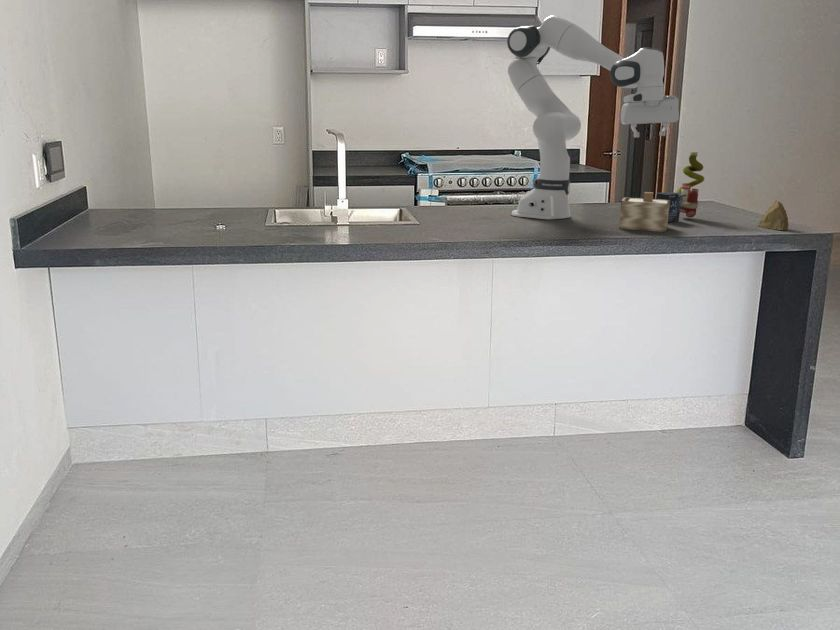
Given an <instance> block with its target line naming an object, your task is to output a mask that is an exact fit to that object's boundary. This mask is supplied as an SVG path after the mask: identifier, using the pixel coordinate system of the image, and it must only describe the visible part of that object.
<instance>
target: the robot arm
mask: <svg viewBox="0 0 840 630" xmlns="http://www.w3.org/2000/svg"><path fill="white" fill-rule="evenodd" d="M506 43H507V44H506V45H507V48H508V50H509V51H510V52H511V54H513V55H514V56H515V57H514V59H513V60H512V61H511V62H510V63H509V65H508V68H507V74H508V78H509V80H510V83H511V84H512V86H513V88H514V90H515V91H516V93H517V94H518V96H519V97H520V99H521V101H522V102H523V104H524V105H525V107H526V109H527V110H528V111H529V112H531V114H532V115H534V116H536V118H535V119H534V121H533V125H532V132H533V135H534V136H535V138H536V140H537V144H538V150H539V156H540V157H539V158H540V161H539V162H540V163H539V164H540V165H539V178H538V177H537V178H535V179H534V180H533V187H534V188H533V189H531V190H529V191H528V192H526V193H525V194H524V195H522V196H521V198H520V199H519V202H518V204H517V209H514V210H512V211H511V216H513V217H520V218H521V217H522V218H530V219H542V220H557V219H567V218H571V217H572V215H571V211H570V204H569V203H570V202H569V195H570V189H571V188H570V187H571V180H570V169H571V157H570V155H569V153H568V150H567V144H566V143H567V141H570V140H572V139H574V138H575V137H577V136H578V134H579V133H580V131H581V128H582V127H581V126H582V123H581V120H580V118H579V116H577V115H576V114H575V113H574V112H573V111H571V109H570V108H569V107H568V106H567V105H566V104H565V103H564V102H563V101H562V99H560V98H559V97H558V95H557V94H556V93H555V92H554V91H553V89H552V88H551V86H550V85H549V84H548V82H547V80H546V79H545V77H544V76H543V74H542V73H541V71H540V69H539V68H538V66H537V65H540V64H541V63H542V62H543V59H544V58H545V57H546V56H547V55H548V54H549V52H550V50H551V49H553V50H554V51H556V52H557V53H559V54H561V55H563V56H564V57H566V58H569V59H571V60H576V61H582V62H588V63H593V64H597V65H600V66H601V67H603V68H604V69H606V70H608V71H609V77H610V81H611V82H612V84H613V85H614V86H616V87H617V88H622V89H630V90H637V91H636V92H633V93H631V94H627V95H626V96H624V97H623V102H624V103H623V105H622V106H621V111H620V123H621V124H622V125H630V129H631V131H632V133H633V138H640V137H641V136H640V131H638V130H637V129H636V128H637V127H638V125H642V124H662V129H661V130H660V131H659V135H658V136H659V137H666V132H667V130H668V128H669V126H670V125H669V123H678V121H679V119H680V112H679V110H680V109H679V105H680V103H679V102H680V99H679V98H678V96H676V95H673V94H671V95H664V92H665V91H664V90H665V89H664V88H665V87H664V86H665V85H664V84H665V83H664V81H663V79H664V76H665V59H664V53H663V51H662V50H660V49H659V48H656V47H641V48H640V49H639V50H637V51H636V52H635V53H633V54H632V55H630V56H627V57H624V56H623V55H621V54H619V53H617V52H615V51H613V50H612V49H610V48H608V47H606V46H605V45H603V44H602V42H600V41H598V40H597V39H596V38H595V37H593V36H592V35H591V34H589V32H587V31H586V30H585V29H583V28H582V27H580V26H579V25H577V24H575V23H574V22H572V21H570V20H568V19H565V18H563V17H561V16H557V15H549V16H548V17H546V18H545V19H544V20H543V21H542V22H541V25H540V26H538V27H537V26H536V25H529V26H528V25H525V26H523V25H522V26H517V27H515V28H514V29H513V30H511V32H510V33H509V34H508V36H507V42H506Z"/></svg>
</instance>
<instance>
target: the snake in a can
mask: <svg viewBox="0 0 840 630" xmlns="http://www.w3.org/2000/svg"><path fill="white" fill-rule="evenodd" d="M689 153H690V154H689V156H688V161H689V164H690V165H687V166H685V167H684V168H683V169H682V173H683V174H684V175H685V176H686V177H689V178H691V179H693V180H692V181H688V182H687V183H685V182H684V183H682V184H681V187H679V188H678V189H677V191H676V192H675V193H681V194H682V197H681V206H680V213H681V214H685V216H686V217H687V218H694V217H695V216H696V215H697V209H698V205H699V200H698V199H699V190H700V189H698V188H693V187H695V186H697V185H699V184H701V183H703V182H705V177H704V176H703V175H702V174H699V173H696V172H701V171H703V169H704V165H703V164H702V163H701V162H700V161H698V160H697V157H698V153H699V152H697V151H690V152H689ZM691 188H692V189H691Z"/></svg>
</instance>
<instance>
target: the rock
mask: <svg viewBox="0 0 840 630" xmlns="http://www.w3.org/2000/svg"><path fill="white" fill-rule="evenodd" d="M757 227H760V228H763V229H771V230H778V231H788V230H789V218H788V214H787V210H786V209H785V207H784V205H783V203H781V202H780V201H779V200H777V199H776V200H775V201H774V202H773V203H772V204H771V206H770V207H769V208H768V209H767V210H766V212H765V214H764V215H762V217H761V218H760V220H759V223H758V225H757Z"/></svg>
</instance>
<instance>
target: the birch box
mask: <svg viewBox="0 0 840 630" xmlns="http://www.w3.org/2000/svg"><path fill="white" fill-rule="evenodd" d="M643 198H644V197H643ZM643 198H642V197H623V198H622V199H621V202H620V211H619V224H618V229H619V230H634V231H650V232H661V233H662V232H664V233H666V232H667V229H668V225H669V222H668V216H669V206H670V200H663V201H668V202H667V203H650V202H633V201H629V199H643ZM653 200H661V199H656V198H653Z"/></svg>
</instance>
